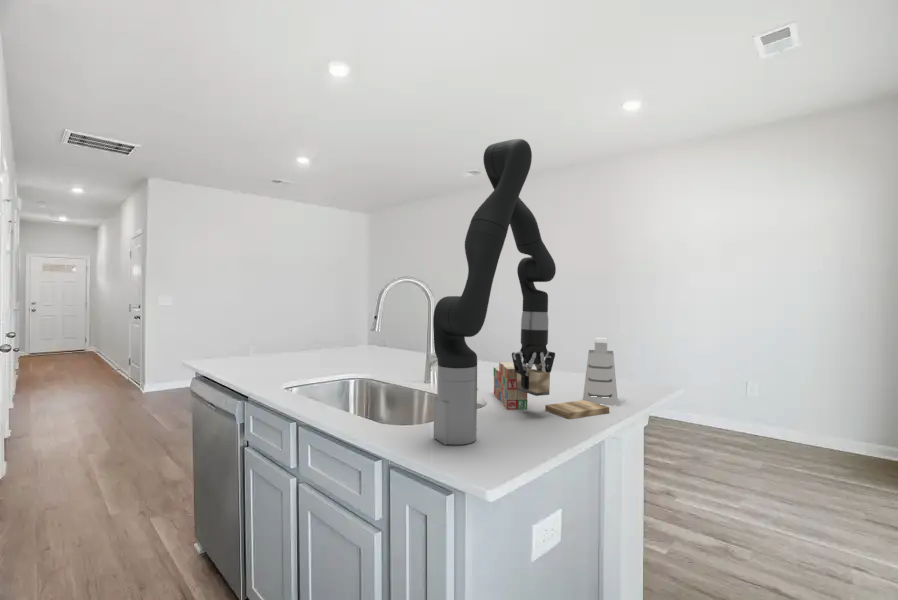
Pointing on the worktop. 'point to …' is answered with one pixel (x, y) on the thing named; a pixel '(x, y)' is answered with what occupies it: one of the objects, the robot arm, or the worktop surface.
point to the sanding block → (536, 383)
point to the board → (576, 409)
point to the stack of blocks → (508, 387)
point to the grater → (600, 375)
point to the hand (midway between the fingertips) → (532, 388)
